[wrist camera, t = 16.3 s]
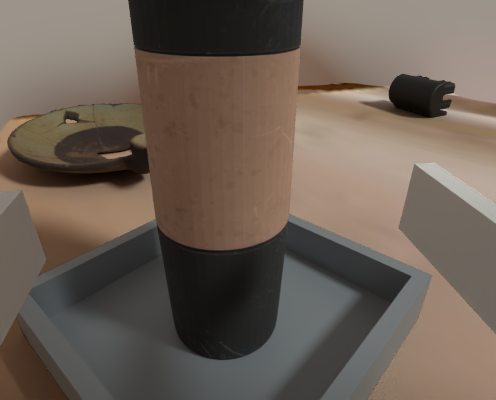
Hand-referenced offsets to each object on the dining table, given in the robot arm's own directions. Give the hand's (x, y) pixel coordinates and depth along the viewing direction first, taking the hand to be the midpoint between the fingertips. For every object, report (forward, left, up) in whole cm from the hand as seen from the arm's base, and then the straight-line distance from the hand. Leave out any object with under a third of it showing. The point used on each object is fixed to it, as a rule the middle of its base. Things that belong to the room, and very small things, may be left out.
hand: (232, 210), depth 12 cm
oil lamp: (-14, -39, -14) cm, 44 cm away
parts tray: (-5, -6, -14) cm, 16 cm away
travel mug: (-5, -6, -13) cm, 15 cm away
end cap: (-70, -16, -14) cm, 73 cm away
